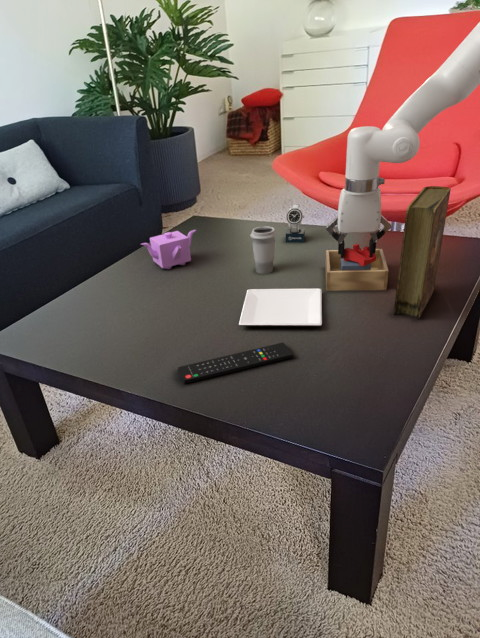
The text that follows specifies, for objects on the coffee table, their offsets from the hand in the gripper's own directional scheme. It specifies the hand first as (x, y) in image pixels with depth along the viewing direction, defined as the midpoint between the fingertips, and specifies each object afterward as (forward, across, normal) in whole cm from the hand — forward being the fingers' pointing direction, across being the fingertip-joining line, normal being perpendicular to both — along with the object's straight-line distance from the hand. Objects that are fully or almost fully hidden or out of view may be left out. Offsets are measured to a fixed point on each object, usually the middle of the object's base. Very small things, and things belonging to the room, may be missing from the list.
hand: (356, 255), depth 134 cm
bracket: (+1, -1, 0) cm, 2 cm away
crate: (+7, 0, 0) cm, 7 cm away
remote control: (+7, +27, +42) cm, 50 cm away
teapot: (+7, +52, -13) cm, 54 cm away
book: (+7, -13, +14) cm, 20 cm away
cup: (+7, +24, -7) cm, 26 cm away
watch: (+7, +16, -30) cm, 35 cm away
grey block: (+6, 0, 0) cm, 6 cm away
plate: (+7, +18, +18) cm, 26 cm away
